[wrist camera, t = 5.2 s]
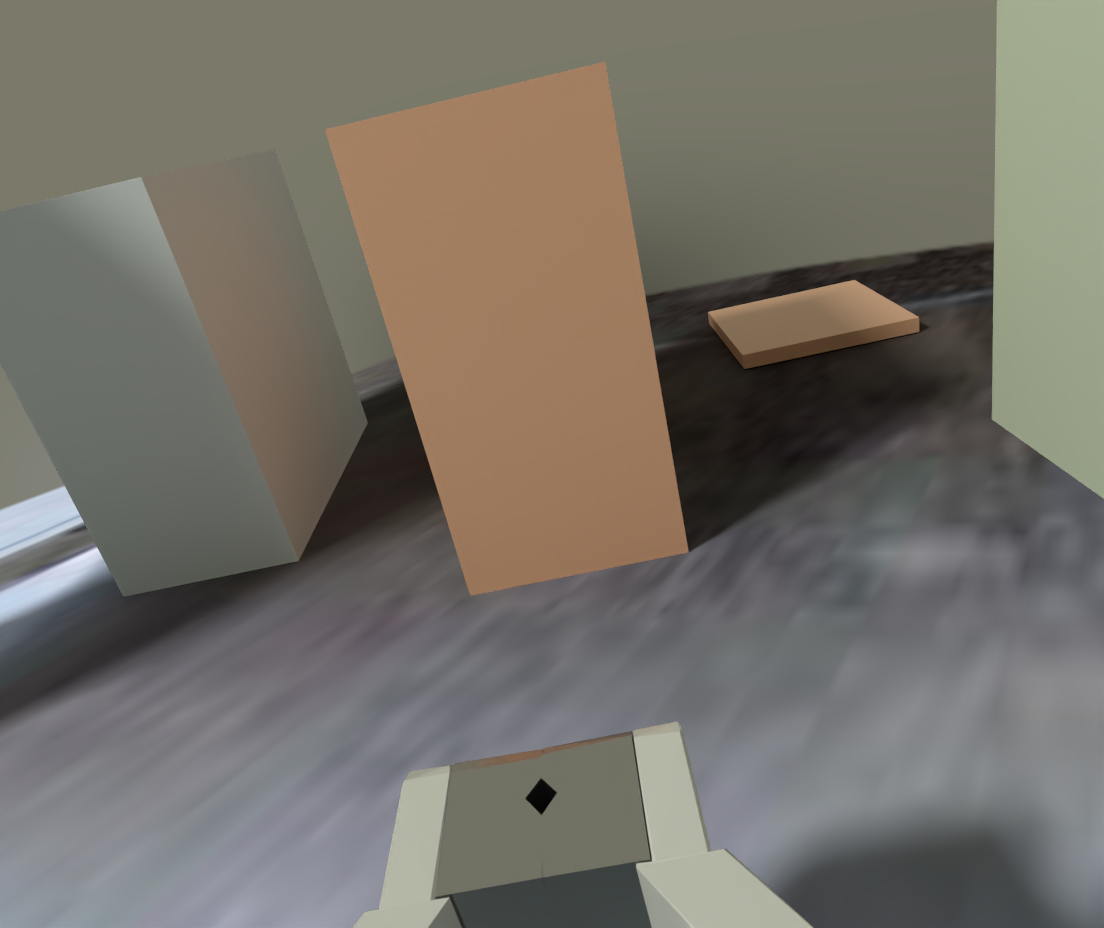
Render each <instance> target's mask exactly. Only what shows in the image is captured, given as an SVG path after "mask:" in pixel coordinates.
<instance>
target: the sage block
mask: <svg viewBox="0 0 1104 928" xmlns="http://www.w3.org/2000/svg"><path fill="white" fill-rule="evenodd" d="M996 54H997V55H996V134H995V139H996V140H995V216H994V296H993V377H992V420H994V421H995V422H996V423H998V424H999V425H1001V426H1002V427H1004V428H1005V429H1006V430H1008V431H1009V432H1011V433H1012V434H1013V435H1015V436H1016V437H1018V438H1019V439H1020V440H1022V441H1023V442H1025V443H1026V444H1028V445H1029V446H1030V447H1032V448H1033V449H1035V450H1036V451H1037V452H1039V453H1040V454H1042V455H1043V456H1045V457H1046V458H1047V459H1049V460H1050V461H1052V462H1053V463H1054V464H1056V465H1057V466H1059V467H1060V468H1061V469H1063V470H1064V471H1066V472H1067V473H1069V474H1070V475H1071V476H1073V477H1074V478H1076V479H1077V480H1078V481H1080V482H1081V483H1083V484H1084V485H1085V486H1087V487H1088V488H1090V489H1091V490H1093V491H1094V492H1095V493H1097V494H1098V495H1100V496H1101V497H1102V498H1104V0H997V53H996Z"/></svg>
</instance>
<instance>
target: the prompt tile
mask: <svg viewBox="0 0 1104 928" xmlns="http://www.w3.org/2000/svg"><path fill="white" fill-rule="evenodd" d="M708 316H709V323H710V325H711V327H712V328H713V329H714V330H715V332H716V333H717V334H718V336H719V337H720V338H721V340H722V341H723V342H724V343H725V345H726V346H727V347H728V349H729V350H730V351H731V353H732V354H733V355H734V356H735V358H736V359H737V360H738V362H739V363H740V364H741V366H742V367H743V368H744V369H747V368H752V367H757V366H761V365H766V364H771V363H775V362H780V361H785V360H790V359H794V358H799V357H804V356H808V355H813V354H818V353H822V352H827V351H832V350H836V349H841V348H846V347H851V346H855V345H860V344H865V343H869V342H874V341H879V340H883V339H888V338H893V337H897V336H902V335H907V334H912V333H916V332H919V317H918V316H916V315H914V314H912V313H911V312H909V311H907V310H905V309H904V308H902V307H900V306H899V305H897V304H895V303H893V302H892V301H890V300H888V299H886V298H885V297H883V296H881V295H879V294H878V293H876V292H874V291H873V290H871V289H869V288H867V287H866V286H864V285H862V284H860V283H859V282H857V281H855V280H853V281H848V282H843V283H839V284H834V285H830V286H825V287H821V288H816V289H811V290H807V291H802V292H798V293H793V294H789V295H784V296H779V297H775V298H770V299H766V300H761V301H757V302H752V303H747V304H743V305H738V306H734V307H729V308H725V309H720V310H715V311H711V312H708Z"/></svg>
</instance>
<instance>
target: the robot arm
mask: <svg viewBox="0 0 1104 928" xmlns="http://www.w3.org/2000/svg"><path fill="white" fill-rule="evenodd" d="M352 928H814V927H813V926H812V925H811V924H810V923H808V922H807V921H806V920H805V919H804V918H803V917H802V916H801V915H799V914H798V913H797V912H796V911H795V910H794V909H793V908H792V907H791V906H789V905H788V904H787V903H786V902H785V901H784V900H783V899H782V898H780V897H779V896H778V895H777V894H776V893H775V892H774V891H773V890H772V889H770V888H769V887H768V886H767V885H766V884H765V883H764V882H763V881H762V880H760V879H759V878H758V877H757V876H756V875H755V874H754V873H753V872H751V871H750V870H749V869H748V868H747V867H746V866H745V865H744V864H743V863H741V862H740V861H739V860H738V859H737V858H736V857H735V856H734V855H732V854H731V853H730V852H729V851H728V850H727V849H722V850H715V851H711V848H710V844H709V840H708V836H707V832H706V827H705V823H704V819H703V815H702V810H701V806H700V802H699V798H698V794H697V789H696V785H695V781H694V777H693V772H692V768H691V764H690V760H689V756H688V751H687V747H686V743H685V739H684V735H683V730H682V727H681V726H680V724H679V723H678V722H673V723H668V724H663V725H658V726H653V727H648V728H643V729H638V730H633V732H632V731H630V732H625V733H620V734H615V735H610V736H605V737H600V738H594V739H589V740H584V741H579V742H574V743H569V744H564V745H559V746H554V747H549V748H544V749H541V750H534V751H528V752H522V753H516V754H510V755H503V756H497V757H491V758H485V759H479V760H472V761H466V762H460V763H455V764H454V765H449V766H442V767H436V768H429V769H423V770H416V771H410V772H409V774H408V776H407V777H406V779H405V781H404V783H403V785H402V790H401V795H400V800H399V806H398V811H397V816H396V822H395V827H394V832H393V837H392V843H391V848H390V853H389V858H388V864H387V869H386V874H385V880H384V885H383V890H382V895H381V901H380V906H379V909H377V910H372V911H367V912H364V913H363V915H362V916H361V917H360V918H359V920H358V921H357V922H356V923H355V925H354V926H353V927H352Z"/></svg>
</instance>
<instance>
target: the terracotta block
mask: <svg viewBox="0 0 1104 928" xmlns="http://www.w3.org/2000/svg"><path fill="white" fill-rule="evenodd" d="M325 131H326V134H327V137H328V140H329V144H330V146H331V150H332V153H333V156H334V159H335V163H336V166H337V169H338V172H339V176H340V179H341V182H342V185H343V188H344V192H345V195H346V198H347V201H348V205H349V208H350V211H351V214H352V217H353V221H354V224H355V227H356V230H357V234H358V237H359V240H360V243H361V246H362V250H363V253H364V256H365V259H366V262H367V265H368V269H369V272H370V275H371V278H372V282H373V285H374V288H375V291H376V294H377V298H378V301H379V304H380V307H381V311H382V314H383V317H384V320H385V323H386V326H387V330H388V333H389V336H390V339H391V342H392V346H393V349H394V352H395V355H396V359H397V362H398V365H399V368H400V372H401V375H402V378H403V381H404V384H405V388H406V391H407V394H408V397H409V400H410V404H411V407H412V410H413V413H414V416H415V420H416V423H417V426H418V429H419V433H420V436H421V439H422V442H423V445H424V449H425V452H426V455H427V458H428V461H429V465H430V468H431V471H432V474H433V477H434V481H435V484H436V487H437V490H438V494H439V497H440V500H441V503H442V506H443V510H444V513H445V516H446V519H447V522H448V526H449V529H450V532H451V535H452V538H453V542H454V545H455V548H456V551H457V554H458V558H459V561H460V564H461V567H462V571H463V574H464V577H465V580H466V583H467V587H468V590H469V593H470V596H471V595H476V594H481V593H486V592H491V591H496V590H501V589H506V588H511V587H516V586H521V585H526V584H531V583H536V582H541V581H546V580H551V579H557V578H562V577H567V576H572V575H577V574H582V573H587V572H592V571H597V570H602V569H607V568H612V567H617V566H622V565H627V564H632V563H637V562H642V561H647V560H652V559H657V558H663V557H668V556H673V555H678V554H683V553H688V552H689V551H688V545H687V539H686V533H685V528H684V522H683V516H682V510H681V504H680V498H679V492H678V486H677V481H676V475H675V469H674V463H673V457H672V451H671V445H670V439H669V434H668V428H667V422H666V416H665V410H664V404H663V398H662V393H661V387H660V381H659V375H658V369H657V363H656V357H655V351H654V346H653V340H652V334H651V328H650V322H649V316H648V310H647V304H646V299H645V293H644V287H643V281H642V275H641V270H640V264H639V258H638V252H637V246H636V240H635V234H634V228H633V222H632V217H631V211H630V205H629V199H628V193H627V187H626V182H625V175H624V169H623V164H622V158H621V152H620V146H619V140H618V134H617V128H616V122H615V117H614V112H613V105H612V99H611V93H610V87H609V82H608V76H607V70H606V64H605V62H602V63H598V64H594V65H590V66H586V67H581V68H578V69H573V70H569V71H565V72H561V73H557V74H553V75H548V76H545V77H540V78H536V79H532V80H528V81H524V82H520V83H515V84H511V85H507V86H503V87H499V88H495V89H491V90H487V91H483V92H478V93H474V94H470V95H466V96H462V97H457V98H453V99H449V100H445V101H441V102H437V103H433V104H428V105H424V106H420V107H417V108H412V109H408V110H404V111H400V112H396V113H392V114H387V115H383V116H379V117H375V118H371V119H367V120H363V121H358V122H354V123H350V124H346V125H342V126H338V127H333V128H330V129H326V130H325Z"/></svg>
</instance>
